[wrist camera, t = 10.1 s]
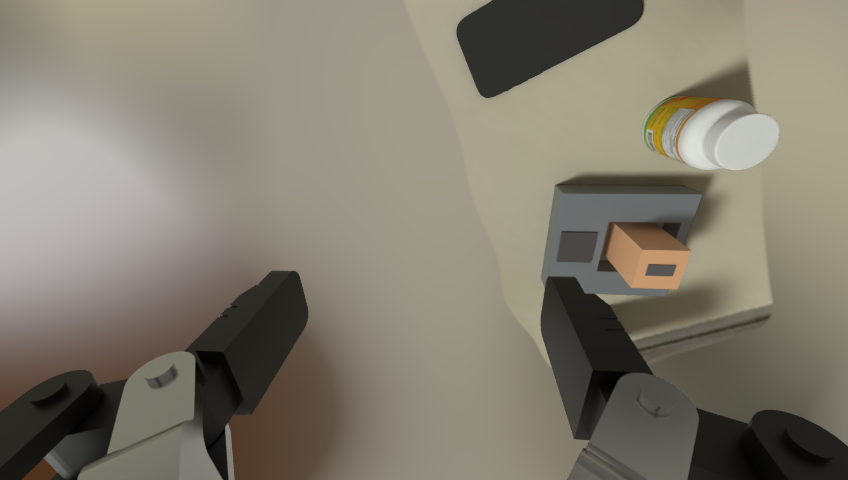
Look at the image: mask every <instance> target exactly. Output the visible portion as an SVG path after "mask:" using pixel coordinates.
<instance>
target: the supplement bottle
mask: <svg viewBox="0 0 848 480" xmlns="http://www.w3.org/2000/svg"><path fill="white" fill-rule="evenodd" d="M779 134H780V130H779V126H778V123H777V122H776V120H775V119H774V118H772V117H771V116H769V115H767V114H763V113H757V111H756V110H755V109H754V108H753V107H752V106H751V105H750V104H748V103H746V102H743V101H739V100H733V99H720V98H707V97H693V96H677V97H672V98H669V99H667V100H665V101H663V102H661V103H660V104H658V105H657V106H656V107H655V108H654V109H653V110H652V111H651V112H650V113H649V114H648V116H647V117H646V119H645V121H644V124H643V128H642V138H643V142H644V144H645V145H646V147H647V148H648V149H650V150H651V151H653V152H655V153H657V154H659V155H662V156H665V157H667V158H670V159H673V160H676V161H678V162H681V163H684V164H686V165H689V166H692V167H695V168H698V169H703V170H714V169H720V168H726V169H730V170H742V169H747V168H750V167H752V166H754V165H756V164H758V163H760V162H761V161H763V160H764V159H765V158H766V157H767V156H768V155H769V154H770V153H771V152H772V151H773V149H774V148H775V146H776V144H777V142H778V139H779Z"/></svg>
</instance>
